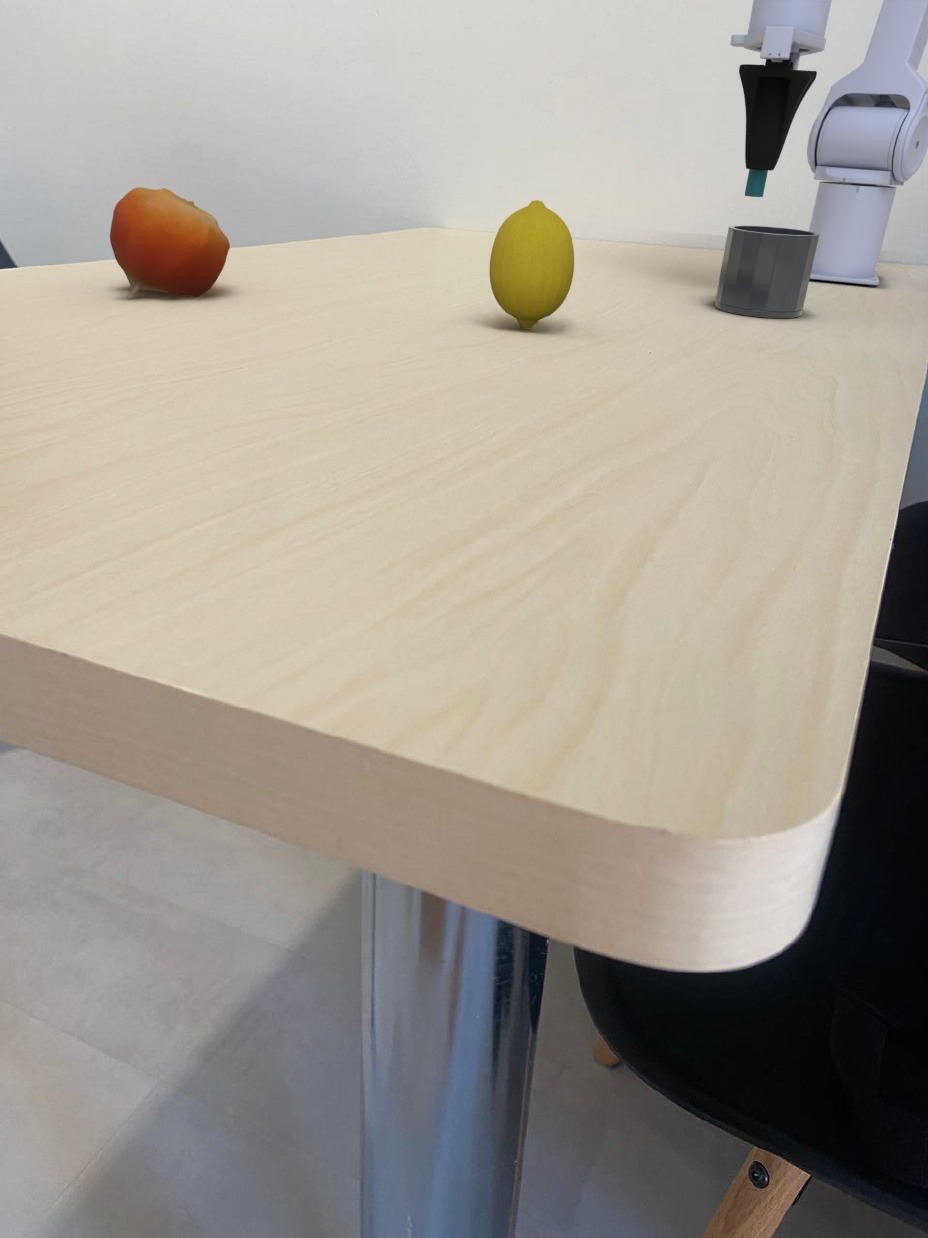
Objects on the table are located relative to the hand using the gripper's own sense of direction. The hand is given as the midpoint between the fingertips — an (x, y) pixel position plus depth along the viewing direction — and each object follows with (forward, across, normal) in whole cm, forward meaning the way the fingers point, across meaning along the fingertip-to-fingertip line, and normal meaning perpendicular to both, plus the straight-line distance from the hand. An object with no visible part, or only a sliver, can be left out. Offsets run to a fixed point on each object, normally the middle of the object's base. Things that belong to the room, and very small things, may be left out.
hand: (759, 169), depth 74 cm
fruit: (+10, +28, -38) cm, 48 cm away
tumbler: (+10, +6, +2) cm, 12 cm away
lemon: (+10, +25, -12) cm, 30 cm away
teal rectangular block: (+2, 0, 0) cm, 2 cm away
